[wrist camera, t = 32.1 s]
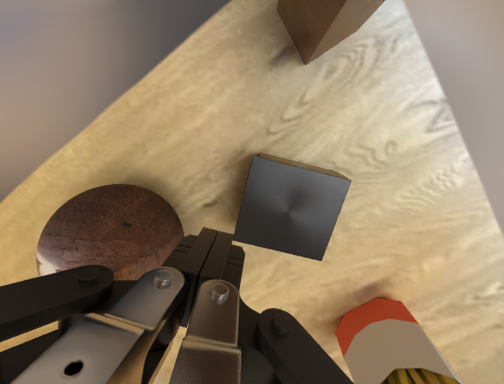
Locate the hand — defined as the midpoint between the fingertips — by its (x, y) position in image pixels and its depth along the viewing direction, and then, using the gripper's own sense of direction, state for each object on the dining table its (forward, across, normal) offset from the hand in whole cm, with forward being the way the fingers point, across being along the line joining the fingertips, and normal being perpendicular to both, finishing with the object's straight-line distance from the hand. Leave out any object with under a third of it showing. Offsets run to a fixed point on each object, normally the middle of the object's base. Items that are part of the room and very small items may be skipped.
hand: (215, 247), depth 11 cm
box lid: (+17, -6, +3) cm, 19 cm away
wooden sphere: (+22, +13, +12) cm, 28 cm away
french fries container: (+22, -24, +18) cm, 38 cm away
